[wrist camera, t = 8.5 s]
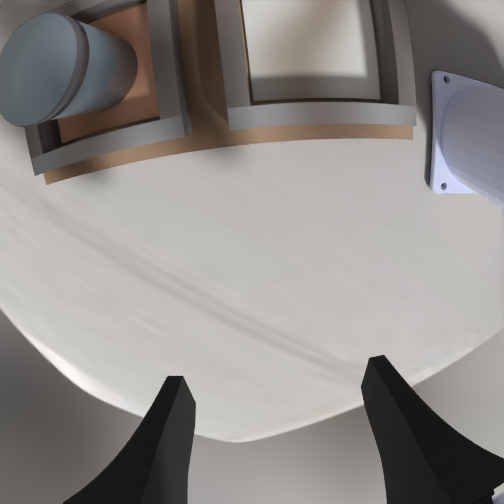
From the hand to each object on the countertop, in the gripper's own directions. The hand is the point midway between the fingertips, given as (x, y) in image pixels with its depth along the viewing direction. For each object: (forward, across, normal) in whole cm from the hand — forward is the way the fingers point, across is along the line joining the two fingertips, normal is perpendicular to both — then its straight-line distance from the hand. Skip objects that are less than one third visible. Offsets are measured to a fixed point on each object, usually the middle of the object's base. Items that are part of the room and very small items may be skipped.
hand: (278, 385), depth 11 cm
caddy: (+9, +2, -13) cm, 16 cm away
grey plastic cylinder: (+8, +8, -13) cm, 17 cm away
